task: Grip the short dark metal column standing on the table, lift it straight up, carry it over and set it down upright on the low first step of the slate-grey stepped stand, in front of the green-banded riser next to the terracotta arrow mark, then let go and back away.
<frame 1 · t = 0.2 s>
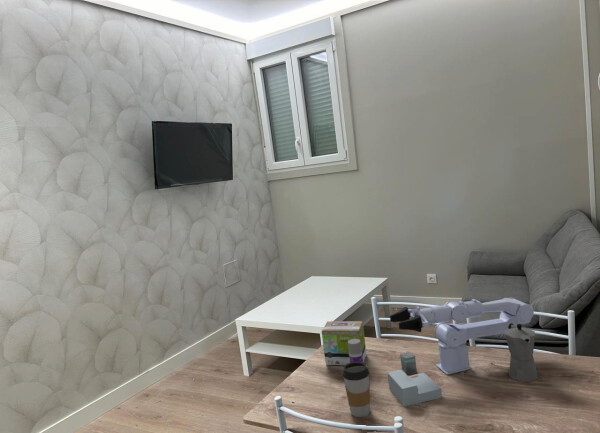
hand: (394, 322, 159), 21 cm above the table, tool horizontal, fingers open, 7 cm apart
stepped stand: (412, 393, 152), on the table
tea box: (346, 361, 182), on the table
column: (409, 370, 167), on the table
coffee cup: (360, 412, 145), on the table
container: (359, 381, 165), on the table
coffeepot: (521, 374, 155), on the table
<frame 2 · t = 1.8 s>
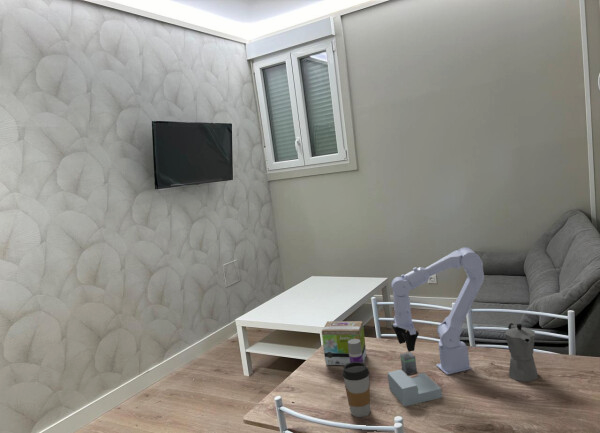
hand: (406, 346, 166), 9 cm above the table, tool pointing down, fingers open, 7 cm apart
nothing on the table moved.
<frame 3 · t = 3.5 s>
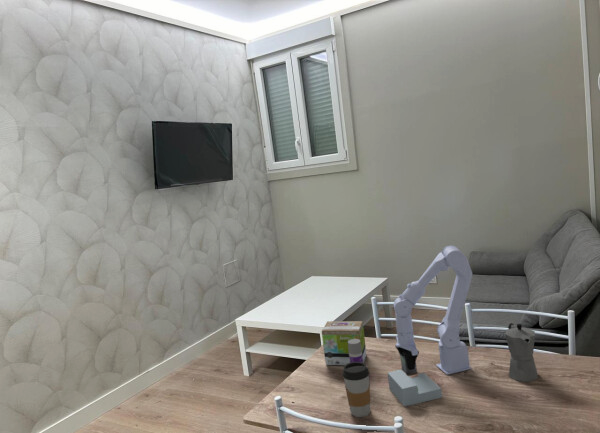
hand: (408, 366, 167), 2 cm above the table, tool pointing down, fingers closed on column, 4 cm apart
column: (409, 370, 167), on the table, touching gripper
everything else where it was.
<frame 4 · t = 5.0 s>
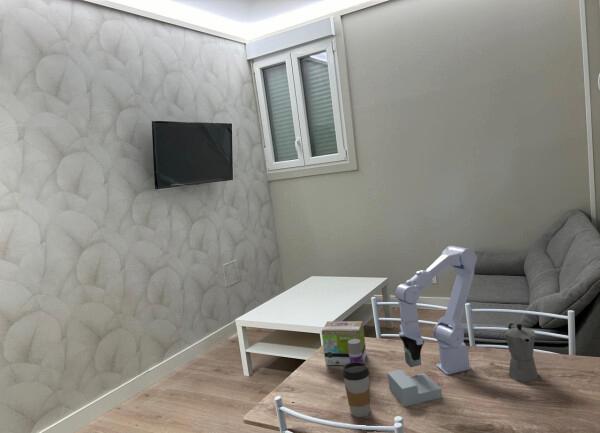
hand: (413, 356, 158), 9 cm above the table, tool pointing down, fingers closed on column, 4 cm apart
column: (413, 363, 158), point 7 cm above the table, touching gripper
everything else where it was.
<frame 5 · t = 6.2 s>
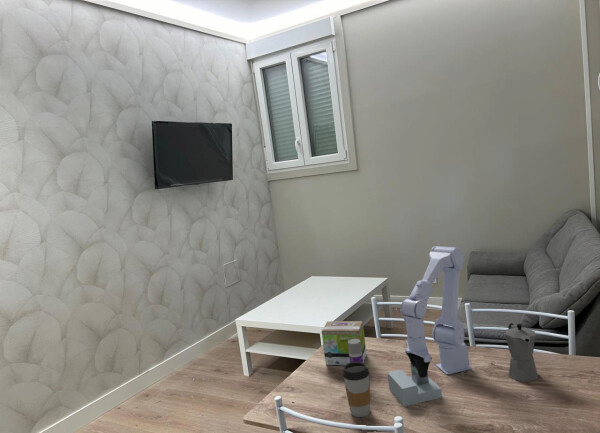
hand: (420, 373, 153), 6 cm above the table, tool pointing down, fingers closed on column, 4 cm apart
column: (420, 381, 153), point 3 cm above the table, touching gripper
everything else where it was.
when the fingers open (6 cm above the table, at t = 6.8 s): column stays where it is, resting on stepped stand.
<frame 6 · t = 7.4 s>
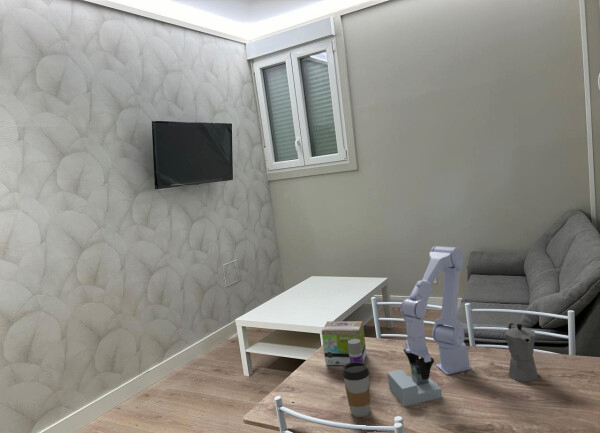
hand: (420, 373, 153), 6 cm above the table, tool pointing down, fingers open, 7 cm apart
column: (420, 381, 153), point 3 cm above the table, touching stepped stand
everything else where it was.
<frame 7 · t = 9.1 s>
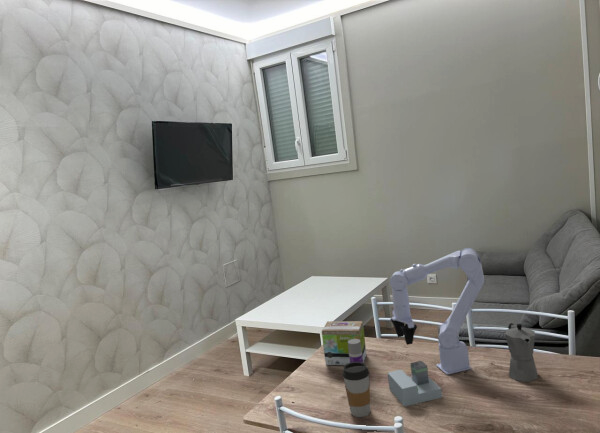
hand: (405, 340, 169), 10 cm above the table, tool pointing down, fingers open, 7 cm apart
nothing on the table moved.
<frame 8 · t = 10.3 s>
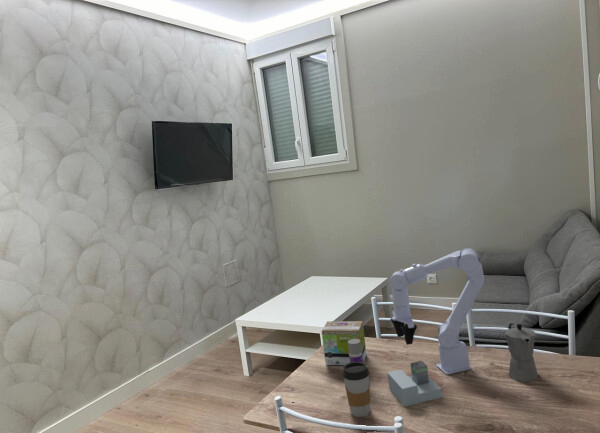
hand: (405, 340, 169), 10 cm above the table, tool pointing down, fingers open, 7 cm apart
nothing on the table moved.
at the end: column inside the target area on the stepped stand (1.0 cm from its centre), point 3.0 cm above the stepped stand's base; column tilted 0°; the gripper is holding nothing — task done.
